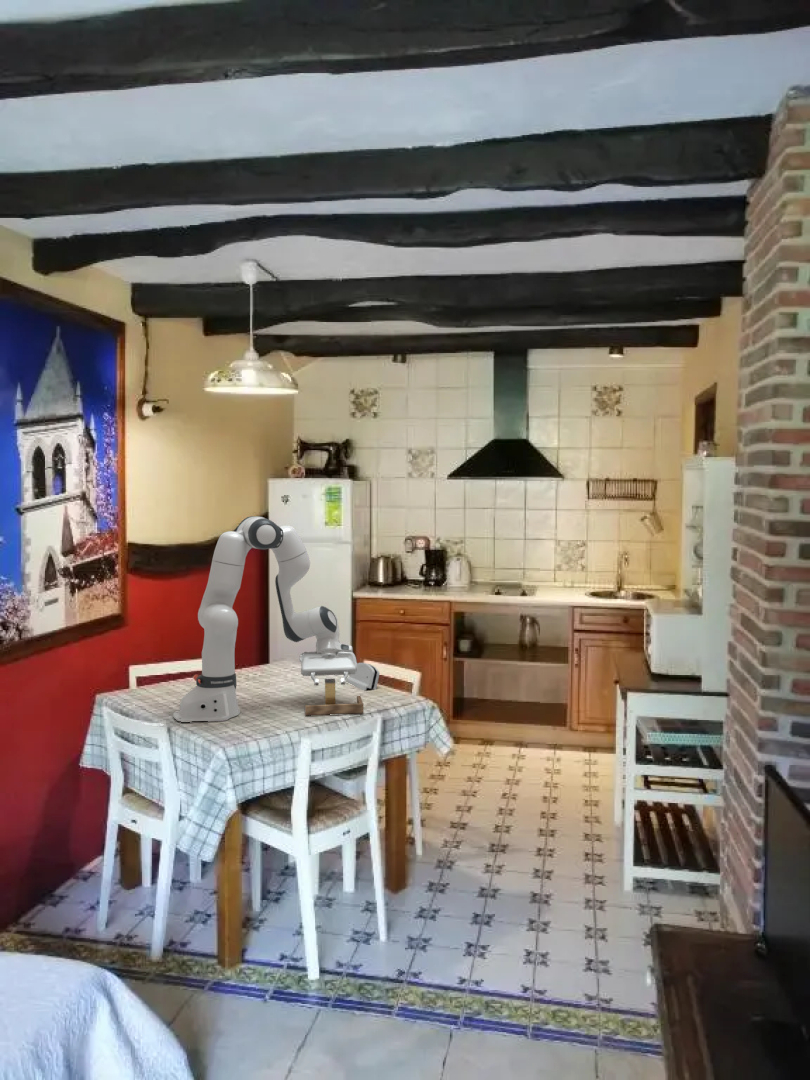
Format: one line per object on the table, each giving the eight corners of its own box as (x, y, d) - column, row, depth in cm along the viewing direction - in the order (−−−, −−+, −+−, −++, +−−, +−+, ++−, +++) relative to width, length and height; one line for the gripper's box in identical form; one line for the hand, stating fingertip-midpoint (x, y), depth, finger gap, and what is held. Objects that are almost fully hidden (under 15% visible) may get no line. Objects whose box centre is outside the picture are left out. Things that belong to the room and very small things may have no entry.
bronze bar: (325, 709, 306) (325, 681, 305) (325, 706, 309) (324, 678, 308) (335, 708, 306) (335, 680, 306) (334, 706, 310) (334, 678, 309)
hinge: (344, 682, 349) (352, 658, 350) (354, 685, 351) (361, 661, 353) (364, 691, 335) (372, 666, 336) (375, 693, 337) (382, 668, 338)
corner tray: (305, 716, 299) (305, 706, 299) (304, 707, 311) (304, 697, 311) (363, 714, 302) (363, 704, 302) (360, 705, 314) (360, 695, 314)
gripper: (299, 647, 313) (300, 680, 304) (356, 645, 316) (358, 678, 307) (299, 657, 318) (300, 689, 309) (355, 655, 321) (357, 688, 312)
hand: (329, 684), depth 308 cm, fingers open, 8 cm apart
